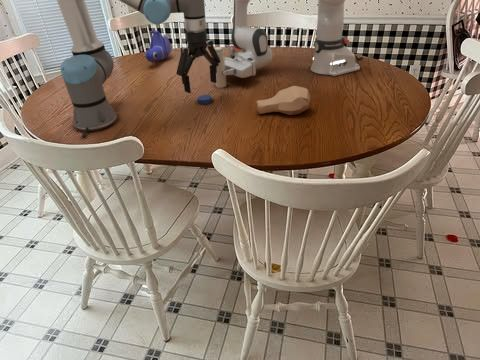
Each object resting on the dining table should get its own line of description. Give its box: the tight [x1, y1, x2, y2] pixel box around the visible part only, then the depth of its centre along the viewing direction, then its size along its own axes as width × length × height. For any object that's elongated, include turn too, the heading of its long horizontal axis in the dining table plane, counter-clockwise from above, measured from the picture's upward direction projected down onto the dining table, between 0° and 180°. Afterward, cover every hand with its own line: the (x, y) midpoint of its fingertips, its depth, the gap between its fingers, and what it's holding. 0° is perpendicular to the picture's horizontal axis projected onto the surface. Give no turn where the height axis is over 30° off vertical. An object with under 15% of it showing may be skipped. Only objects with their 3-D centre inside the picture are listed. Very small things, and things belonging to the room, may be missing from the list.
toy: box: [144, 30, 172, 67], centre depth 185 cm, size 10×17×25 cm
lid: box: [197, 94, 213, 105], centre depth 143 cm, size 6×6×2 cm
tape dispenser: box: [228, 44, 246, 57], centre depth 185 cm, size 18×5×20 cm
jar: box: [214, 46, 228, 89], centre depth 152 cm, size 5×5×16 cm
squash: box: [255, 85, 312, 116], centre depth 130 cm, size 11×20×9 cm, turn 92°
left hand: (201, 87), depth 140 cm, fingers open, 13 cm apart
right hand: (218, 71), depth 152 cm, fingers closed on jar, 5 cm apart
